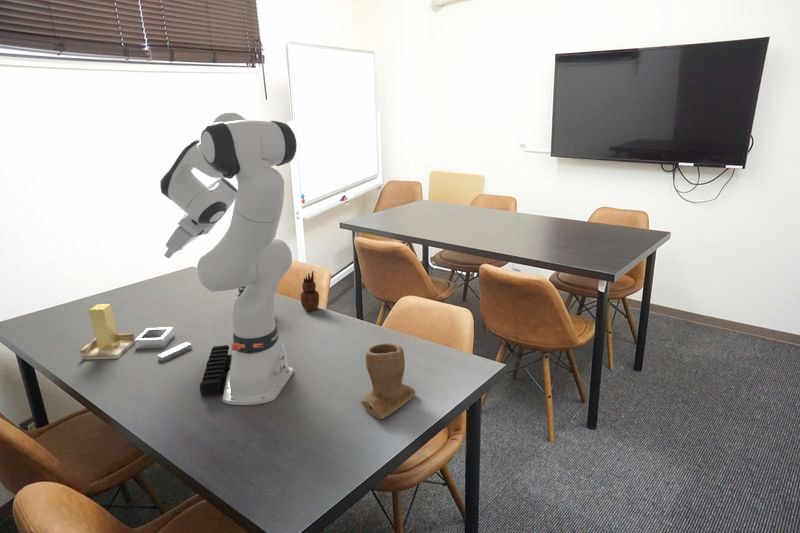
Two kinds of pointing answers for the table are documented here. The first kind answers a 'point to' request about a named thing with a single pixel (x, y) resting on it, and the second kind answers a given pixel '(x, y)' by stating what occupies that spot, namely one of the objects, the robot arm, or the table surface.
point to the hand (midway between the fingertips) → (173, 252)
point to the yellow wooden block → (104, 326)
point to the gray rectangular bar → (174, 352)
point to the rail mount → (216, 371)
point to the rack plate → (93, 353)
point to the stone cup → (386, 380)
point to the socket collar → (149, 335)
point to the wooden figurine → (309, 294)
